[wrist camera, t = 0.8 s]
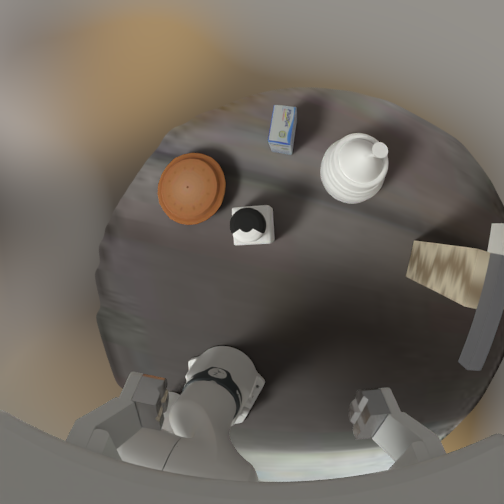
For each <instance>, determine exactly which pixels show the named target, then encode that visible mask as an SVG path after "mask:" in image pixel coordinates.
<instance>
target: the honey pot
mask: <svg viewBox="0 0 504 504" xmlns="http://www.w3.org/2000/svg"><path fill="white" fill-rule="evenodd" d="M372 143H373V144H374V145H373V144H372ZM387 154H388V148H387V146H386V145H385V144H384V143H382V142H379V141H377V140H376V139H375V138H374V137H372V136H370V135H367V134H363V133H353V134H350V135H347V136H345V137H344V138H342V139H341V140H338V141H336V142H335V143H333V144H332V145H331V146H330V147H329V148H328V149H327V151H326V152H325V155H324V157H323V160H322V163H321V169H320V174H321V180H322V183H323V185H324V187H325V189H326V190H327V191H328V193H329V194H330V195H331V196H333V197H334V198H335V199H337V200H339V201H341V202H344V203H350V204H352V203H359V202H362V201H365V200H367V199H369V198H371V197H372V196H374V195H375V194H377V192H378V191H379V190H380V188H381V187H382V184H383V182H384V179H385V176H386V173H387V171H388V163H389V162H388V156H387Z"/></svg>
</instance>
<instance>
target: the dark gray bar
mask: <svg viewBox="0 0 504 504" xmlns="http://www.w3.org/2000/svg"><path fill="white" fill-rule="evenodd" d="M487 252H489V253H490V258H489V263H488V267H487V272H486V276H485V280H484V284H483V288H482V292H481V296H480V299H479V303H478V306H477V310H476V313H475V316H474V319H473V322H472V325H471V328H470V331H469V334H468V337H467V340H466V342H465V345H464V348H463V350H462V353H461V355H460V358H459V360H458V362H459V363H460V364H461V365H462V366H463V367H464V368H465V369H467V370H476V371H481V369H482V367H483V365H484V362H485V360H486V357H487V355H488V352H489V350H490V347H491V345H492V342H493V339H494V336H495V334H496V331H497V328H498V325H499V322H500V319H501V315H502V312H503V309H504V223H492V226H491V232H490V239H489V245H488V250H487Z"/></svg>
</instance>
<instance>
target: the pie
mask: <svg viewBox="0 0 504 504" xmlns="http://www.w3.org/2000/svg"><path fill="white" fill-rule="evenodd" d="M225 186H226V181H225V177H224V173H223V171H222V169H221V167H220V166H219V164H218V163H217V162H216V161H215V160H214V159H213V158H212V157H210V156H207V155H205V154H201V153H189V154H184V155H181V156H179V157H177V158H174V159H173V160H172V161H171V162H170V163H169V164H168V165H167V167H166V168H165V170H164V171H163V173H162V175H161V178H160V181H159V183H158V198H159V203H160V205H161V207H162V208H163V210H164V212H165V213H166V214H167V215H168V216H169V218H170V219H172V220H174V221H176V222H178V223H181V224H186V225H192V224H199V223H201V222H203V221H205V220H207V219H209V218H210V217H211V216H212V215H214V214H215V213H216V212H217V210H218V209H219V207H220V206H221V205H222V201H223V198H224V194H225Z"/></svg>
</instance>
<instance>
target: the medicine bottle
mask: <svg viewBox="0 0 504 504" xmlns="http://www.w3.org/2000/svg"><path fill="white" fill-rule="evenodd" d="M230 230H231V232H232V234H233V236H234V245H251V244H269V243H272V242H274V241H275V235H274V219H273V208H272V207H270V206H269V205H260V206H247V207H235V208H232V218H231V221H230Z"/></svg>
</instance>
